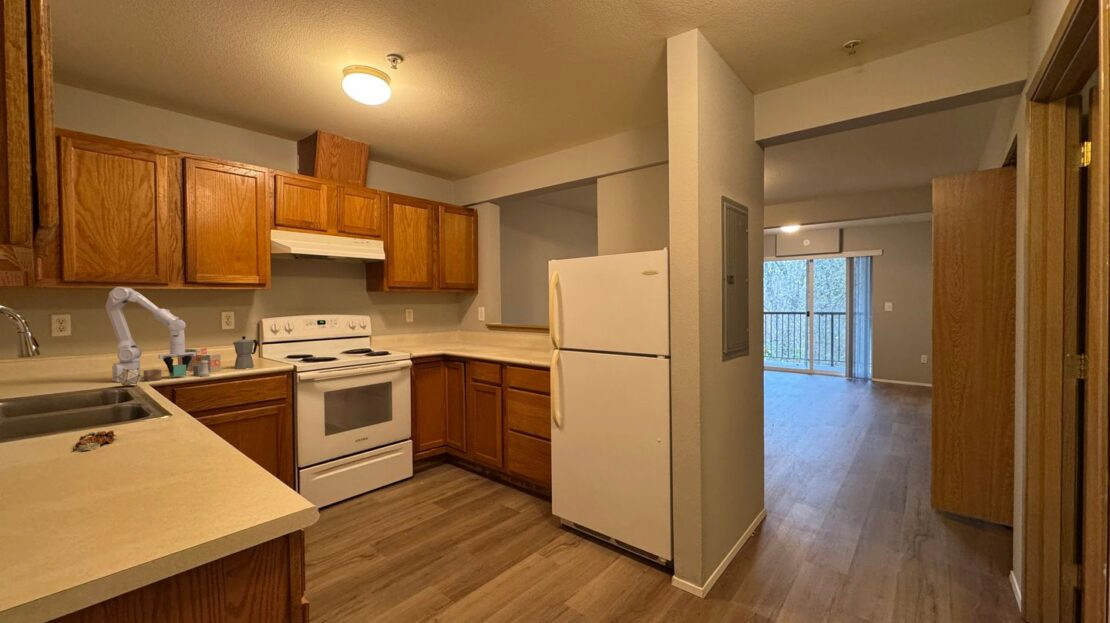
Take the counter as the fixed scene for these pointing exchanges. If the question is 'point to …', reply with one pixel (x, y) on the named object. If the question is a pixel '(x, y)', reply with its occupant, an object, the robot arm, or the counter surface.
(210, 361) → the stack of blocks
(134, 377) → the geometric wire lantern
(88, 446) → the pastry
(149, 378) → the walnut block
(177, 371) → the muted green block
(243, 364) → the coffeepot
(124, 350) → the robot arm
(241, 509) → the counter surface
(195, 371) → the gray block
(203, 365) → the rook chess piece
